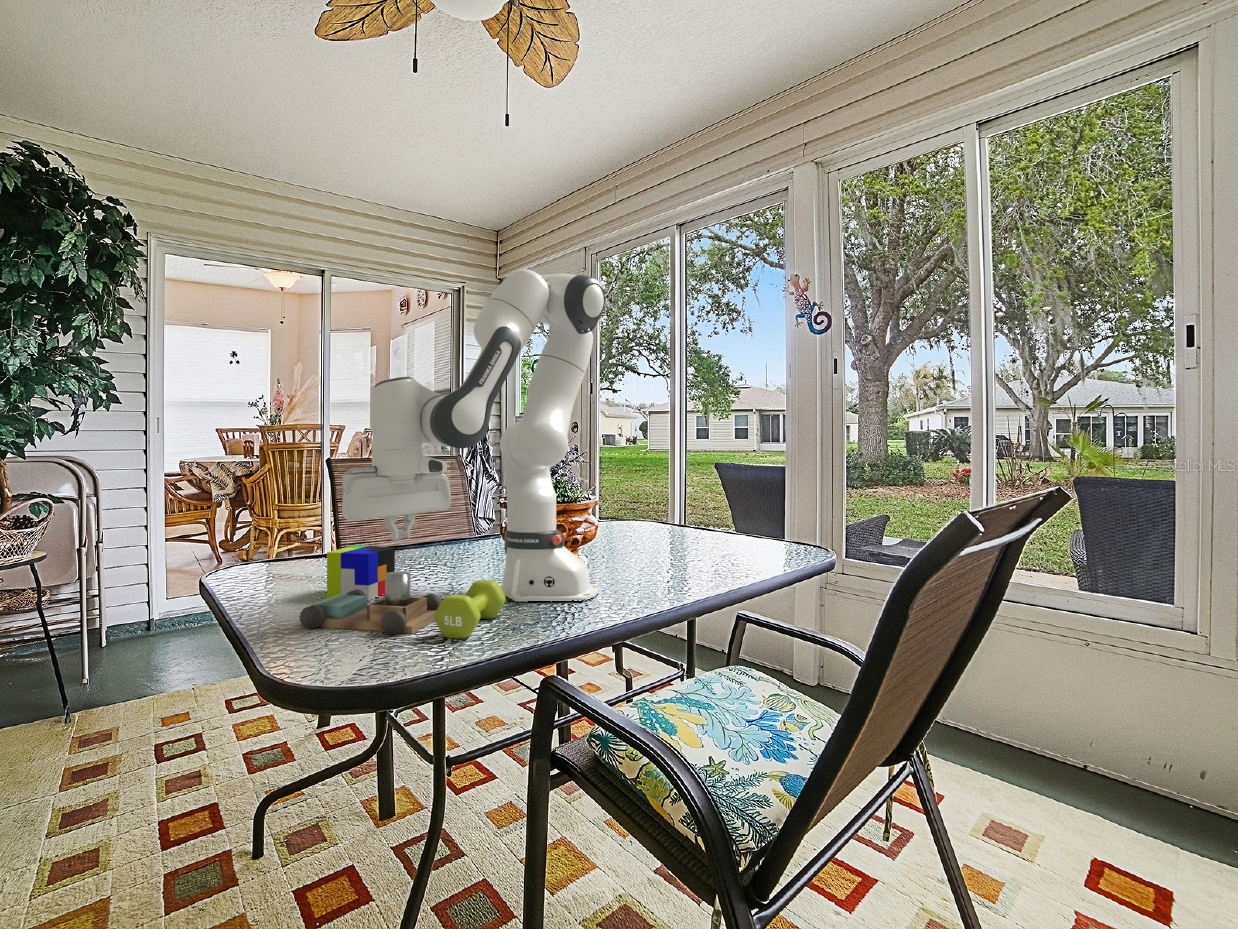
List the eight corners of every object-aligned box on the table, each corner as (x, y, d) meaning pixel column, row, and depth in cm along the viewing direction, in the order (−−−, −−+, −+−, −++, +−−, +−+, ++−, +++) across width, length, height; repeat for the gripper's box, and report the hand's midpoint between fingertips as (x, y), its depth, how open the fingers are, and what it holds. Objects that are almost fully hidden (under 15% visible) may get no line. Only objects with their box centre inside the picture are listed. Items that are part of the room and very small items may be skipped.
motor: (415, 614, 117) (415, 571, 117) (402, 620, 112) (402, 576, 112) (393, 612, 118) (393, 570, 118) (379, 618, 113) (379, 575, 113)
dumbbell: (474, 642, 104) (474, 599, 104) (430, 639, 106) (430, 597, 106) (508, 616, 121) (508, 579, 120) (470, 614, 122) (470, 577, 122)
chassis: (445, 614, 121) (445, 594, 121) (407, 636, 107) (407, 613, 107) (344, 608, 125) (344, 588, 125) (294, 628, 111) (294, 606, 111)
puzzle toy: (368, 601, 132) (368, 554, 131) (326, 598, 134) (326, 552, 133) (394, 590, 141) (394, 547, 141) (355, 588, 143) (355, 545, 143)
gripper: (350, 468, 105) (353, 549, 105) (454, 462, 120) (456, 533, 121) (333, 468, 109) (337, 546, 109) (436, 462, 124) (438, 531, 125)
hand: (400, 539), depth 115 cm, fingers closed
